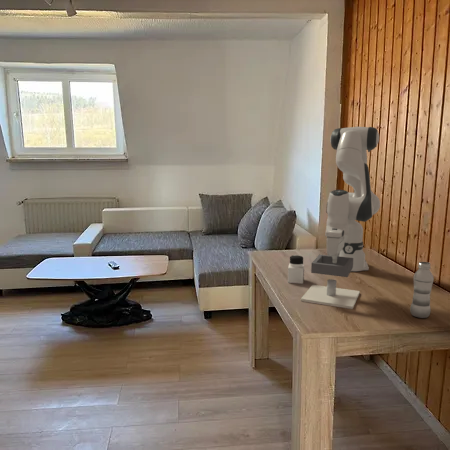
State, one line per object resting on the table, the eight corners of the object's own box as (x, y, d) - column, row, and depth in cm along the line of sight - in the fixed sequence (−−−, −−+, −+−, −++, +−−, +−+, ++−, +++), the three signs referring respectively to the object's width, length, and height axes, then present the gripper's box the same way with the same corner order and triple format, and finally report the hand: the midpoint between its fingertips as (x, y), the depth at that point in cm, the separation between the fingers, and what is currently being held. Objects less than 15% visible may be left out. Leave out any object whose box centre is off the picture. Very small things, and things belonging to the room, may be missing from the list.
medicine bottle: (303, 283, 185) (304, 258, 183) (287, 282, 186) (288, 257, 184) (303, 279, 192) (304, 254, 190) (288, 278, 193) (289, 253, 191)
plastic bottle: (406, 313, 151) (410, 260, 147) (423, 312, 151) (428, 260, 148) (415, 320, 144) (420, 265, 141) (433, 319, 145) (439, 265, 142)
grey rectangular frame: (319, 263, 175) (319, 254, 174) (352, 267, 169) (353, 258, 168) (311, 272, 163) (311, 263, 162) (347, 277, 157) (348, 267, 156)
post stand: (312, 286, 181) (313, 271, 180) (359, 293, 173) (360, 277, 171) (300, 301, 163) (301, 284, 162) (352, 309, 155) (353, 291, 154)
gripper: (334, 225, 179) (332, 255, 182) (324, 233, 161) (322, 267, 163) (348, 226, 177) (347, 257, 179) (340, 234, 159) (338, 268, 161)
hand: (335, 262), depth 171 cm, fingers closed on grey rectangular frame, 2 cm apart
